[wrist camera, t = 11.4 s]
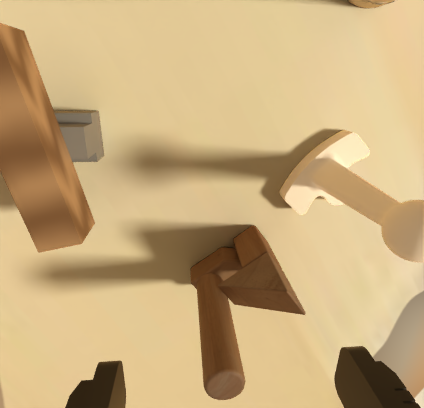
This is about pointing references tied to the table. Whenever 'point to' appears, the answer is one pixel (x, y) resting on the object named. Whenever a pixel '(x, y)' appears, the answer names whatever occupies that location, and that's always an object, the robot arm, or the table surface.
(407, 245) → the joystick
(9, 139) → the walnut bar
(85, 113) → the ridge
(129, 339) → the table surface
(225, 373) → the brown rod with wedge
